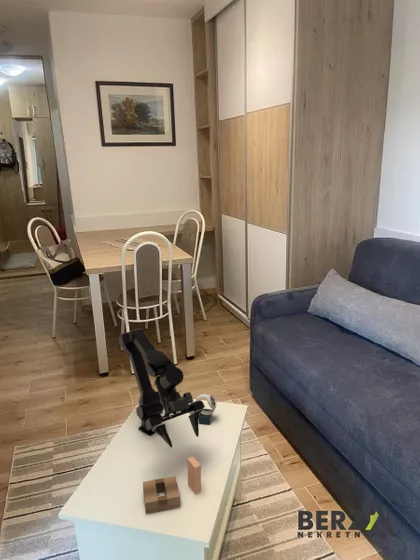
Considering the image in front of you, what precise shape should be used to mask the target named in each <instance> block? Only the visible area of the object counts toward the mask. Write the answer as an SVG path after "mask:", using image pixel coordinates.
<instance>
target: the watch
mask: <svg viewBox="0 0 420 560" xmlns="http://www.w3.org/2000/svg"><path fill="white" fill-rule="evenodd" d="M201 398H202V399H205V400H206V401H207V404H208V406H209V408H203V409H201V410H202V412H200V414H199V420H198V425H203V426H205V425H206V426H210V425H211V423H212V419H213V414H214V412H215V410H216V408H217V401H216V399H215V397H214V396H213V395H212V394H209V393H201V394H199V395H198V396H197V397H196V400H195V401H198V400H201Z"/></svg>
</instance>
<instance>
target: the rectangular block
mask: <svg viewBox="0 0 420 560" xmlns="http://www.w3.org/2000/svg"><path fill="white" fill-rule="evenodd" d="M187 485H188V487H189V488H190V490H191V491H192V492H193V493H194V495H197V494H199V493H201V492H202V464H200V462H199V461H198V460H197V459H196V457H194V456H190V457H188V458H187Z"/></svg>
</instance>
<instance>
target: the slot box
mask: <svg viewBox="0 0 420 560" xmlns="http://www.w3.org/2000/svg"><path fill="white" fill-rule="evenodd" d="M142 492H143V500H144V502H143V503H144V509H145V515H148V514H153V513H158V512H162V511H163V512H164V511H167V510H174V509H178V508H181V495H180V490H179V486H178V481H177V477H176V475H173V476H168V477H162V478H161V477H160V478H157V479H151V480H146V481H142ZM163 493H164V495H158V494H163Z"/></svg>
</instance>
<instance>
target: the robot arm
mask: <svg viewBox="0 0 420 560" xmlns="http://www.w3.org/2000/svg"><path fill="white" fill-rule="evenodd" d="M118 343H119V346H120V347H121V349H122V351H123V353H125V354H126V355H127V356H128V358H129V360H130V364H131V367H132V369H133V373H134V376H135V379H136V383H137V386H138V390H139V393H140V395H139V399H138V407H137V408H136V409H135V410H136V416H137V417H138V418H139V420H140V424H141V425H140V426H139V427H138V430H139V431H140V432H143V433H145V434H146V435H148V436H153V435H155V434H158V436H160V438H161V439H163V441H164V442H165V443H166V444H167V445H168V446H169V447H170V448H173V443H172V440H171V438H170V436H169V433H168V431H167V427H166V423H164V422H168V421H170V420H172V419H175V418H179V417H181V416H184V415H186V414H189V415H188V419H189V421H190V424H191V427H192V430H193V433H194V434H195V436H196V438H198V437H200V433H199V432H200V431H199V414H200V412H202V410H201V409H206V406H205V403H204V402H203V400H201V399H198V401H196V400H195V401H194V398H193V395H192V393H191V392H190V391H187V392H184V393H183V394H182V395H183V396H181V394H180V392H179V391H178V390H177V387H178V386H179V385H180V384H181V383H182V382H183V380H184V373H183V371H182V370H181V369H180V367H177V366H176V364H175V363H174V362H173V361H172V360H171V358H169V357H168V356H167V354H165V353H164V351H160V350H158V349H156V347H155V346H154V345H153V343H152V342H151V340H150V339H149V337H147V335H146V332H145V329H144V328H136V329H132V330H129V331H127V332H126V331H125V332H121V334H120V336H119V337H118ZM150 376H151V377H153V378H155V379H154V382H153V383H154V386H155V387H156V389H157V391H156V390H155V389H154V388H153V385H152V383H151V379H150ZM162 414H163V415H162Z"/></svg>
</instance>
